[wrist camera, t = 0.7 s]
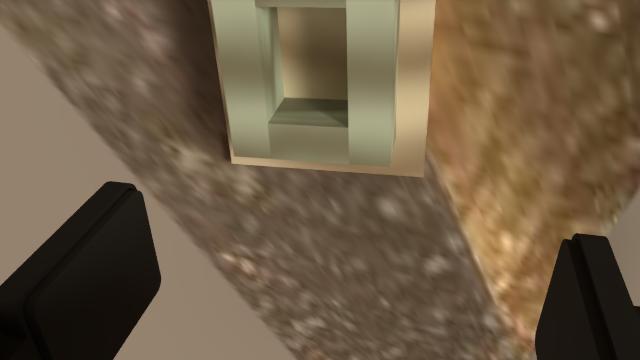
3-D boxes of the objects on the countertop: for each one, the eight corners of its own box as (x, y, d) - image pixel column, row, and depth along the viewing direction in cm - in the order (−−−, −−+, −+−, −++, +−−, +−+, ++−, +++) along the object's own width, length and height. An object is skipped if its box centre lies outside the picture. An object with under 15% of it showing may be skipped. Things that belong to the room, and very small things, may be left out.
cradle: (197, -113, 31) (158, -105, 27) (443, -122, 29) (442, -115, 24) (236, 156, 41) (211, 193, 37) (424, 169, 38) (420, 210, 34)
